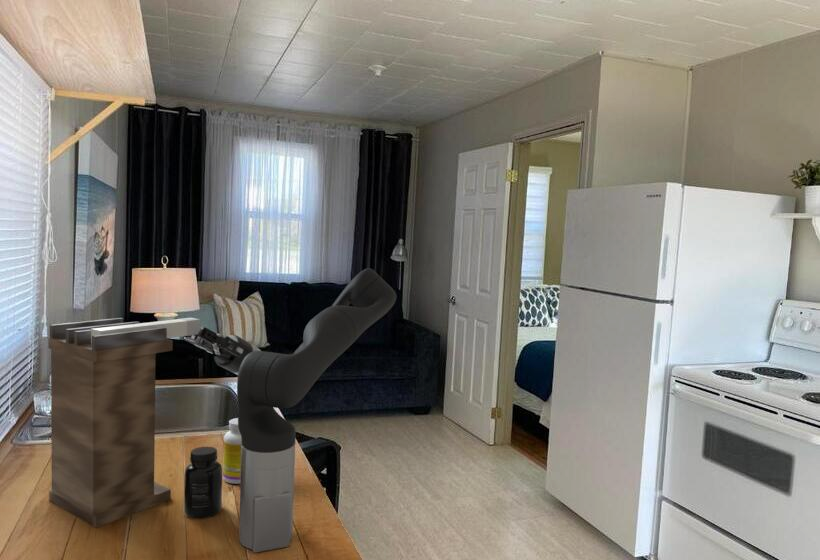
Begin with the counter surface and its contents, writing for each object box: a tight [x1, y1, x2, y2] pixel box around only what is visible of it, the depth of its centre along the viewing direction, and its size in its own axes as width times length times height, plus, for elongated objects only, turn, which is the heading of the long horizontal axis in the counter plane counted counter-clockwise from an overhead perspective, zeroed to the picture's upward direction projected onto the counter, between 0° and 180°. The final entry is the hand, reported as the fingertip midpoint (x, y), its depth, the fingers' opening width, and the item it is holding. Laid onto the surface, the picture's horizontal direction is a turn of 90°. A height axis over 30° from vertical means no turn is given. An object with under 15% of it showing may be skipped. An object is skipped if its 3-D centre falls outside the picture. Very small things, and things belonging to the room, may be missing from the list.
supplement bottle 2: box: [222, 417, 242, 485], centre depth 132 cm, size 7×7×13 cm
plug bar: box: [91, 317, 201, 345], centre depth 119 cm, size 21×3×3 cm, turn 146°
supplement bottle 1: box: [183, 446, 223, 520], centre depth 117 cm, size 7×7×12 cm
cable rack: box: [47, 317, 174, 528], centre depth 119 cm, size 15×17×34 cm
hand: (187, 328), depth 126 cm, fingers open, 8 cm apart
